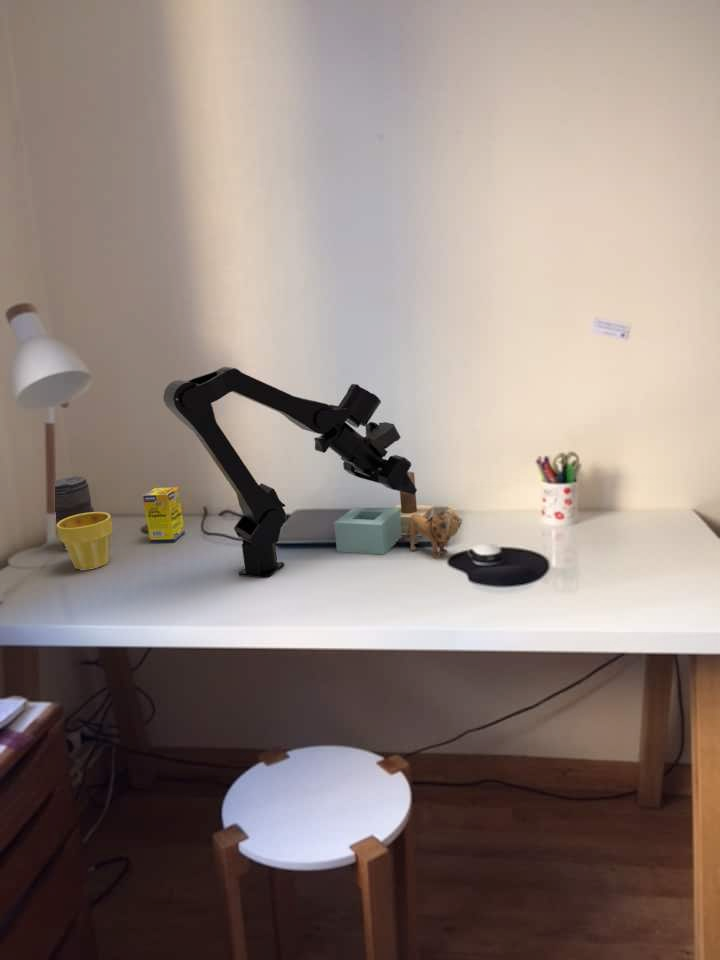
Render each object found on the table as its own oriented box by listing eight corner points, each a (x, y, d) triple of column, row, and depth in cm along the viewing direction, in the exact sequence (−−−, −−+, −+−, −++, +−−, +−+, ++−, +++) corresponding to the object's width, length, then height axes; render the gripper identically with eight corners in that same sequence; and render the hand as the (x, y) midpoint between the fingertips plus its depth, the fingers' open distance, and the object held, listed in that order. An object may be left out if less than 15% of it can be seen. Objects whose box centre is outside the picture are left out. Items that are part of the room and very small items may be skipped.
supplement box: (175, 542, 160) (167, 494, 158) (149, 543, 162) (141, 495, 159) (186, 533, 166) (178, 486, 163) (161, 534, 167) (153, 487, 164)
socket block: (383, 554, 142) (381, 524, 140) (336, 551, 146) (333, 522, 144) (402, 537, 150) (399, 508, 149) (357, 534, 154) (354, 507, 153)
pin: (413, 513, 152) (411, 475, 150) (399, 512, 153) (396, 475, 151) (419, 508, 154) (416, 471, 152) (404, 508, 156) (401, 471, 154)
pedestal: (422, 536, 150) (421, 517, 149) (385, 534, 153) (384, 516, 152) (434, 523, 157) (433, 505, 156) (399, 522, 160) (398, 504, 159)
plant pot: (106, 572, 146) (97, 525, 143) (56, 576, 147) (46, 529, 144) (126, 554, 156) (118, 509, 153) (78, 557, 157) (70, 513, 154)
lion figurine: (468, 553, 138) (465, 507, 136) (451, 562, 135) (448, 515, 132) (408, 540, 148) (404, 497, 146) (390, 548, 145) (387, 504, 142)
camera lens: (64, 543, 167) (51, 479, 164) (101, 537, 169) (89, 474, 165) (57, 554, 160) (43, 488, 156) (96, 549, 161) (83, 483, 157)
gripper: (398, 417, 137) (450, 462, 145) (350, 407, 153) (399, 449, 161) (365, 466, 136) (420, 510, 144) (320, 451, 152) (372, 491, 160)
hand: (403, 487), depth 152 cm, fingers open, 9 cm apart
